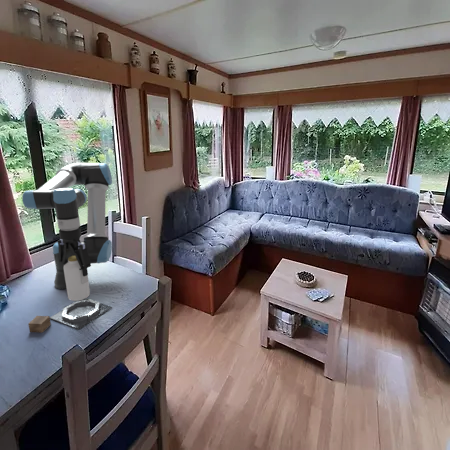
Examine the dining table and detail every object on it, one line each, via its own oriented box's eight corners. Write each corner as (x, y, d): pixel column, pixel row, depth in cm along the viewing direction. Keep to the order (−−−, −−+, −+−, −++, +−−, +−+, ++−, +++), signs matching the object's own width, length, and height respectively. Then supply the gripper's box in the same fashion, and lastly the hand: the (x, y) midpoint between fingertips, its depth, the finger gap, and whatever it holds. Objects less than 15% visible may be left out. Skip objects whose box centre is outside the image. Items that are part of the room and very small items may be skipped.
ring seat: (49, 318, 114) (48, 314, 114) (84, 298, 129) (83, 294, 129) (78, 330, 108) (78, 325, 107) (111, 307, 123) (111, 303, 122)
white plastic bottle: (73, 292, 120) (67, 253, 115) (93, 291, 121) (88, 253, 116) (64, 302, 112) (57, 261, 107) (85, 301, 113) (80, 261, 108)
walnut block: (30, 332, 106) (28, 323, 105) (38, 324, 111) (37, 315, 110) (42, 332, 106) (41, 324, 105) (50, 324, 111) (49, 316, 110)
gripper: (42, 226, 108) (51, 278, 115) (80, 234, 100) (87, 289, 107) (60, 222, 115) (67, 271, 121) (97, 229, 107) (103, 281, 113)
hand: (77, 280), depth 114 cm, fingers closed on white plastic bottle, 8 cm apart
